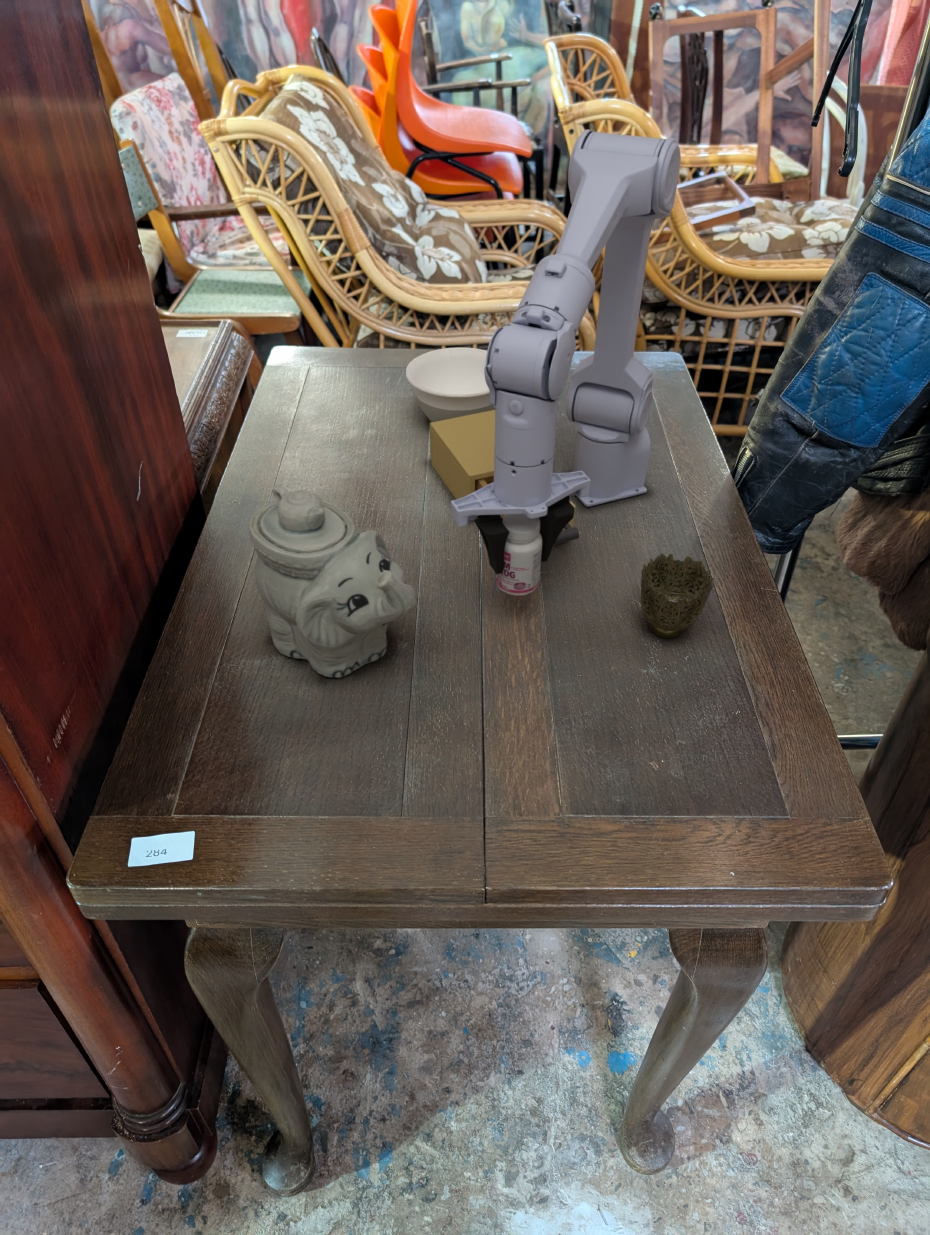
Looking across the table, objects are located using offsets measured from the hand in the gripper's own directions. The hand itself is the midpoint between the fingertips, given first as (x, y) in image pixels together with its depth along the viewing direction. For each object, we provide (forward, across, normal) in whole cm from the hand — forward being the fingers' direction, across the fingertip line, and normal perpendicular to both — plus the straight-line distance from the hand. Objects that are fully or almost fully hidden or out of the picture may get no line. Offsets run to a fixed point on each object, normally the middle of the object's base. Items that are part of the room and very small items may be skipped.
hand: (518, 562), depth 85 cm
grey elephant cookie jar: (+8, -20, +1) cm, 21 cm away
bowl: (+8, +10, +43) cm, 45 cm away
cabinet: (+8, +7, +26) cm, 28 cm away
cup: (+8, +14, -9) cm, 18 cm away
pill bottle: (+3, 0, 0) cm, 3 cm away
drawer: (+7, +7, +14) cm, 17 cm away
